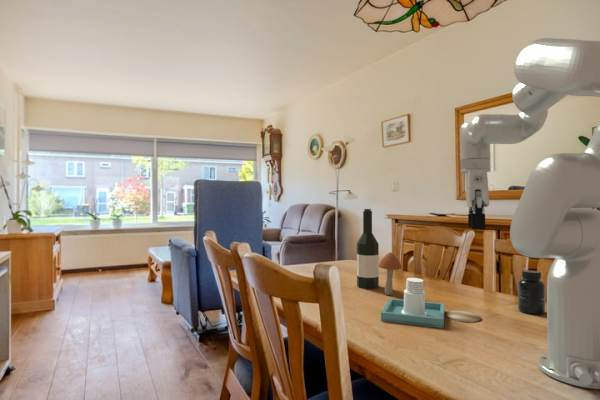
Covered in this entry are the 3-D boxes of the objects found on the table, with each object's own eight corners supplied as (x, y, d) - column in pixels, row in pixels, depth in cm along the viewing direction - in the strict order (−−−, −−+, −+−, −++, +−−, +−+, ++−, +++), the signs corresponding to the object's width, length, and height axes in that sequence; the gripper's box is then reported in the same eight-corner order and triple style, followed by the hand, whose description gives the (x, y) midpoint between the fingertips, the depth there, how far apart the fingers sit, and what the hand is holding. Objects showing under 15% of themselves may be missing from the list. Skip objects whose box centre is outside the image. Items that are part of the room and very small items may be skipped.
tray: (443, 328, 96) (443, 319, 96) (381, 320, 102) (381, 312, 102) (444, 311, 111) (444, 303, 111) (389, 305, 117) (389, 298, 117)
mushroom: (406, 296, 128) (406, 253, 128) (387, 298, 125) (387, 254, 125) (392, 291, 136) (392, 250, 136) (374, 293, 133) (374, 251, 133)
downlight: (395, 311, 109) (396, 277, 108) (415, 308, 111) (416, 275, 111) (412, 320, 101) (413, 284, 101) (433, 317, 104) (434, 282, 103)
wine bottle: (352, 285, 146) (352, 208, 146) (370, 283, 149) (370, 208, 149) (364, 289, 138) (364, 209, 138) (383, 287, 142) (383, 209, 142)
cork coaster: (481, 323, 99) (481, 321, 99) (445, 319, 103) (445, 318, 103) (479, 314, 108) (479, 312, 108) (446, 310, 111) (446, 309, 111)
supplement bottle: (549, 316, 106) (549, 274, 106) (523, 314, 107) (523, 273, 108) (539, 309, 113) (539, 269, 113) (514, 308, 114) (514, 269, 114)
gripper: (495, 162, 94) (496, 230, 93) (485, 169, 110) (487, 227, 109) (463, 163, 96) (464, 229, 96) (458, 170, 113) (459, 226, 112)
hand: (476, 228), depth 103 cm, fingers open, 9 cm apart
